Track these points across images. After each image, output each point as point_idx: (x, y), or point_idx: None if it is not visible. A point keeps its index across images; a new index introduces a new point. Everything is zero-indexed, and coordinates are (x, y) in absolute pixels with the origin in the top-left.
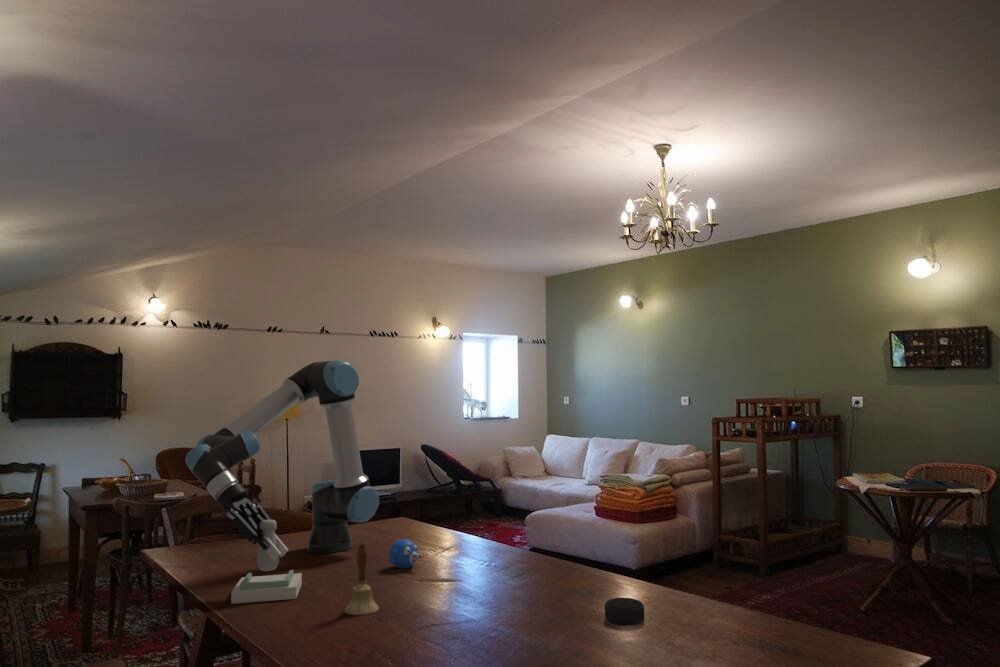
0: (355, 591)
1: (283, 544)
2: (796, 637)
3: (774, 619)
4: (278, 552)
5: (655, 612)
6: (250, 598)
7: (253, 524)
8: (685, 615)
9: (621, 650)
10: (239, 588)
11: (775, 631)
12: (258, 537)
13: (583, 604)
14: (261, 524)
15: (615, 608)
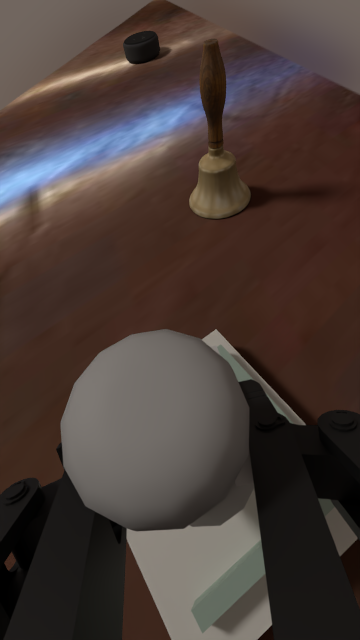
0: (235, 161)
1: None
2: (146, 17)
3: (115, 29)
4: (216, 348)
5: (118, 56)
6: None
7: (323, 551)
8: (120, 47)
9: (212, 35)
10: (334, 513)
11: (138, 23)
12: (299, 427)
13: (109, 83)
14: (245, 436)
15: (155, 35)
